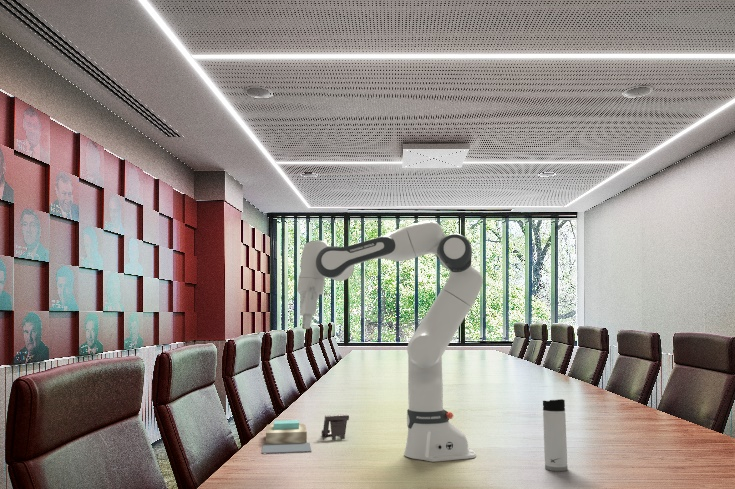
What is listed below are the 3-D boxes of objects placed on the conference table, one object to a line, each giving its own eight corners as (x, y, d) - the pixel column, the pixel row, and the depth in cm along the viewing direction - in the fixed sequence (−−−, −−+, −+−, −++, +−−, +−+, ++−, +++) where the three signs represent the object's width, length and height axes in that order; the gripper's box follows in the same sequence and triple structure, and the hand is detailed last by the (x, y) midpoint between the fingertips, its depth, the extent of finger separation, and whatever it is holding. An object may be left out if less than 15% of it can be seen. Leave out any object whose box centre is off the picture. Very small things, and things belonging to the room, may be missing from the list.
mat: (309, 443, 214) (309, 442, 214) (311, 452, 201) (311, 450, 201) (262, 445, 212) (262, 444, 212) (261, 453, 199) (261, 452, 199)
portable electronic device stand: (344, 434, 230) (344, 411, 231) (350, 438, 222) (350, 415, 223) (321, 436, 227) (321, 413, 228) (326, 440, 220) (326, 416, 221)
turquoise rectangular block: (298, 425, 226) (298, 420, 226) (298, 428, 220) (299, 423, 221) (273, 426, 225) (273, 420, 225) (273, 429, 219) (273, 423, 219)
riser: (304, 434, 230) (304, 423, 231) (306, 443, 214) (306, 431, 215) (266, 435, 228) (267, 424, 229) (265, 445, 212) (266, 433, 213)
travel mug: (555, 472, 174) (553, 400, 176) (540, 467, 180) (537, 397, 182) (573, 470, 176) (570, 399, 178) (557, 465, 182) (554, 396, 184)
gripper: (323, 286, 199) (318, 329, 197) (316, 291, 219) (312, 330, 217) (303, 284, 198) (298, 327, 196) (299, 289, 218) (294, 328, 216)
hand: (305, 328), depth 206 cm, fingers open, 8 cm apart
